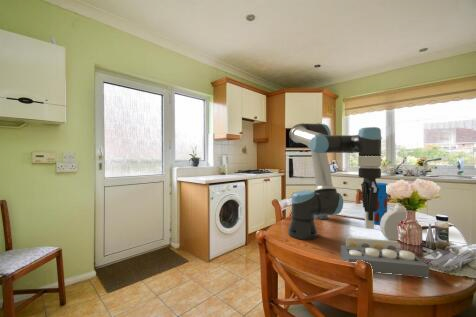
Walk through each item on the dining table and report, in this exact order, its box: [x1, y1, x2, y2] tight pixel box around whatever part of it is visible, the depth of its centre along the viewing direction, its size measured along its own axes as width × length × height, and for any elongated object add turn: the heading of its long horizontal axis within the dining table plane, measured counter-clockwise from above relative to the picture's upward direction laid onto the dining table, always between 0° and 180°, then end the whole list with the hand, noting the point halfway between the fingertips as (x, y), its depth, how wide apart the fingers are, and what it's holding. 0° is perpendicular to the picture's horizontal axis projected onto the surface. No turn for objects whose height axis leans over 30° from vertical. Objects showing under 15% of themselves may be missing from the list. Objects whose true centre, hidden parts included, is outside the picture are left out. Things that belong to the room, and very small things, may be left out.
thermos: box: [374, 181, 388, 226], centre depth 138 cm, size 11×11×25 cm
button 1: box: [349, 250, 362, 256], centre depth 87 cm, size 5×5×3 cm
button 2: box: [365, 248, 379, 257], centre depth 86 cm, size 5×5×3 cm
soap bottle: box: [379, 202, 419, 241], centre depth 112 cm, size 16×5×20 cm, turn 80°
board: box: [340, 245, 430, 278], centre depth 85 cm, size 26×12×4 cm, turn 78°
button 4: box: [399, 249, 415, 261], centre depth 83 cm, size 5×5×3 cm
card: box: [345, 236, 399, 250], centre depth 94 cm, size 20×1×7 cm, turn 78°
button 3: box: [382, 249, 397, 259], centre depth 84 cm, size 5×5×3 cm
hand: (369, 227), depth 85 cm, fingers closed
